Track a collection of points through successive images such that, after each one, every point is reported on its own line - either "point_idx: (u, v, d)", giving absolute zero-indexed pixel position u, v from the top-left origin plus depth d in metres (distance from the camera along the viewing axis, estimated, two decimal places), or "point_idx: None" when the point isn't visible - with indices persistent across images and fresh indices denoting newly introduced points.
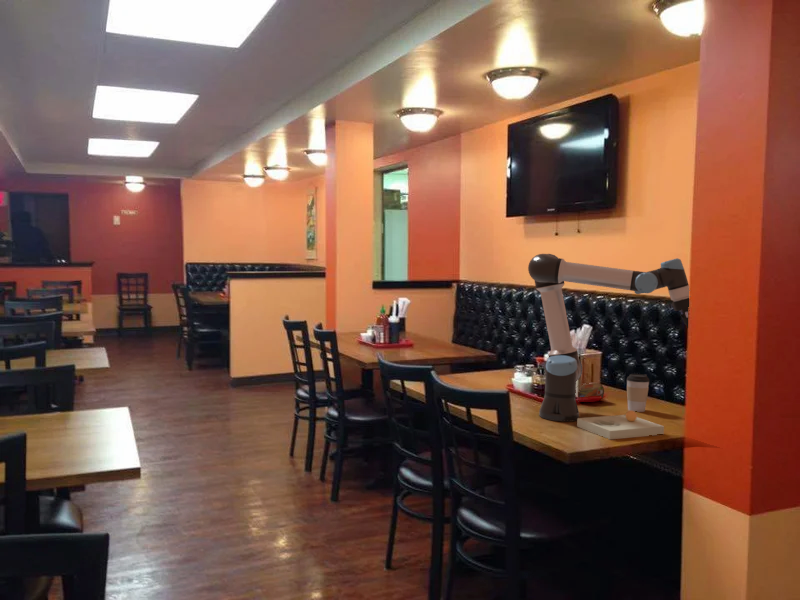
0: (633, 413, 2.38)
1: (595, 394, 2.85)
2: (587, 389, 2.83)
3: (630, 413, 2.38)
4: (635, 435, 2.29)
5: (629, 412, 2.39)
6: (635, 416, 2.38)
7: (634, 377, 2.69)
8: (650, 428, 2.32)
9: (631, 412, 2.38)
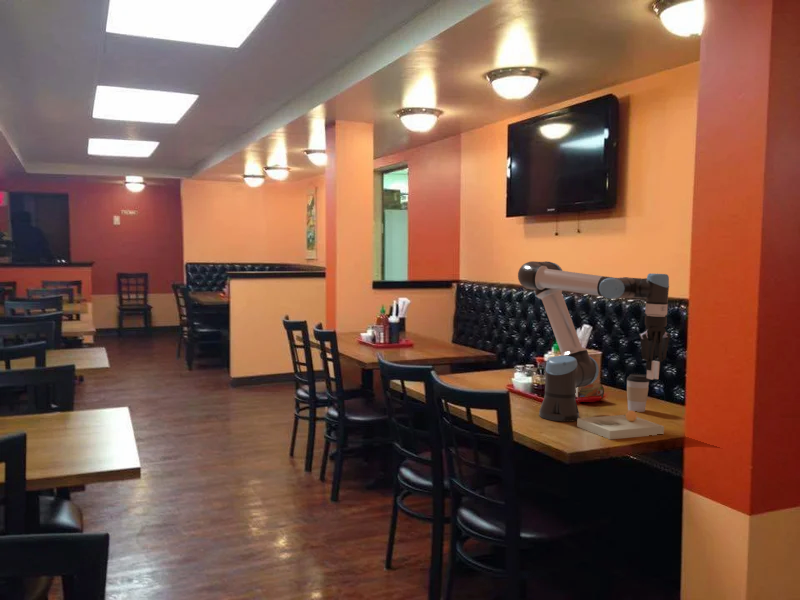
0: (633, 413, 2.38)
1: (595, 394, 2.85)
2: (587, 389, 2.83)
3: (630, 413, 2.38)
4: (635, 435, 2.29)
5: (629, 412, 2.39)
6: (635, 416, 2.38)
7: (634, 377, 2.69)
8: (650, 428, 2.32)
9: (631, 412, 2.38)
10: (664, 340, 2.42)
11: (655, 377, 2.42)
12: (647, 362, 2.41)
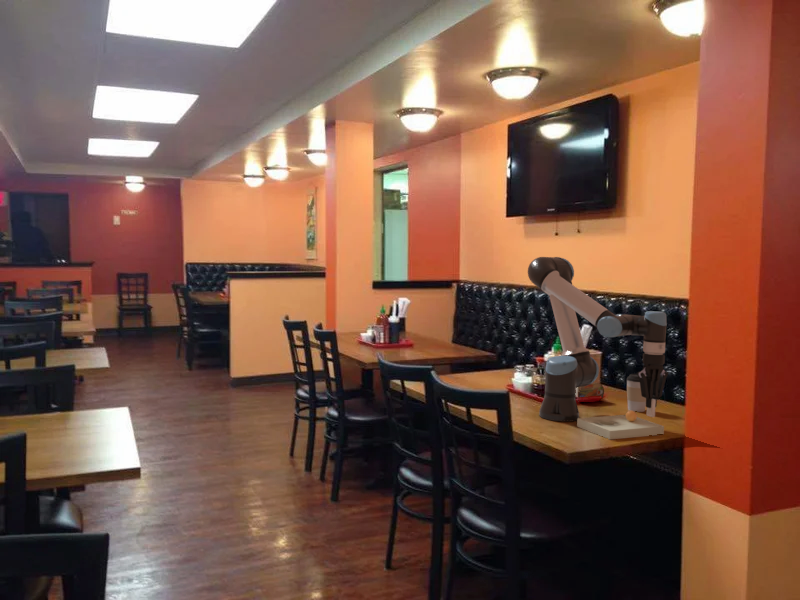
0: (633, 413, 2.38)
1: (595, 394, 2.85)
2: (587, 389, 2.83)
3: (630, 413, 2.38)
4: (635, 435, 2.29)
5: (629, 412, 2.39)
6: (635, 416, 2.38)
7: (634, 377, 2.69)
8: (650, 428, 2.32)
9: (631, 412, 2.38)
10: (661, 378, 2.43)
11: None
12: (647, 400, 2.42)
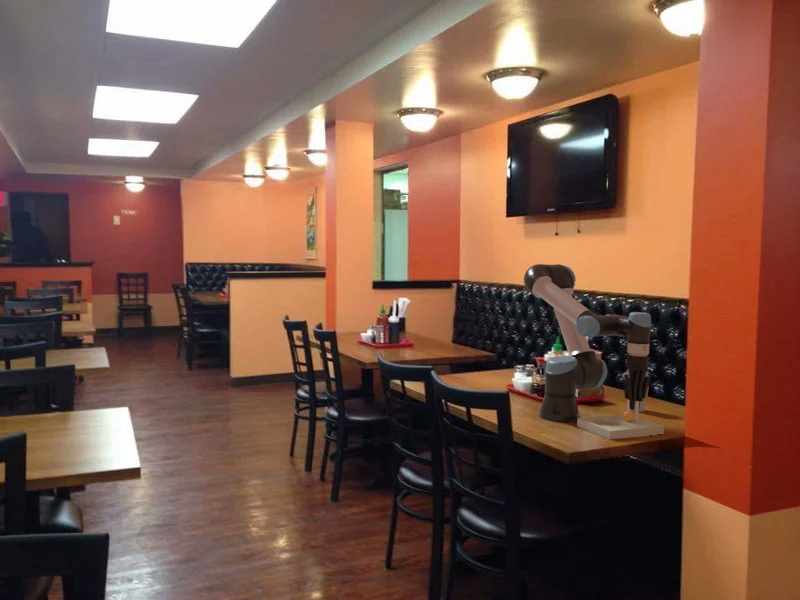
0: (629, 414, 2.37)
1: (595, 394, 2.85)
2: (587, 389, 2.83)
3: (627, 415, 2.38)
4: (635, 435, 2.29)
5: (625, 414, 2.38)
6: (632, 416, 2.37)
7: None
8: (650, 428, 2.32)
9: (627, 414, 2.38)
10: (645, 379, 2.41)
11: (635, 417, 2.40)
12: (630, 401, 2.39)
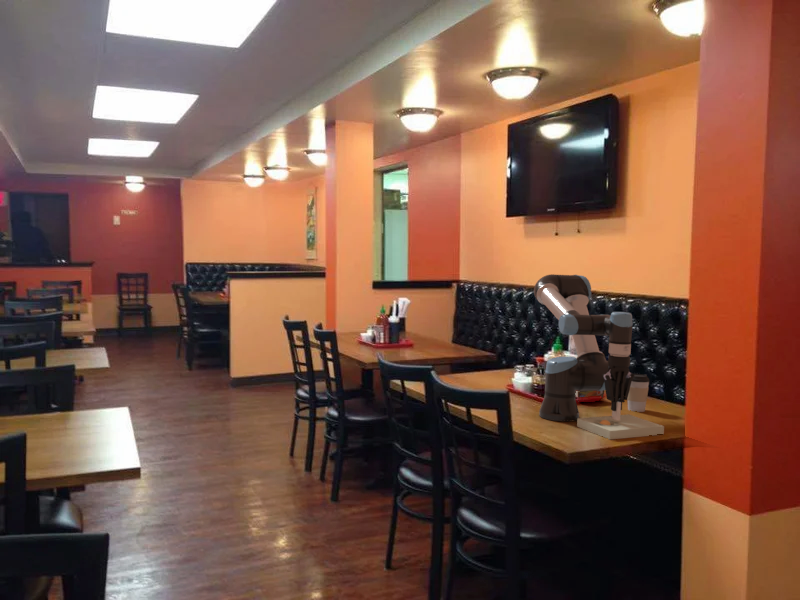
0: (607, 422, 2.34)
1: (595, 394, 2.85)
2: None
3: (604, 421, 2.35)
4: (635, 435, 2.29)
5: (603, 421, 2.35)
6: None
7: (634, 377, 2.69)
8: (650, 428, 2.32)
9: (605, 421, 2.35)
10: (627, 380, 2.37)
11: None
12: (612, 402, 2.36)
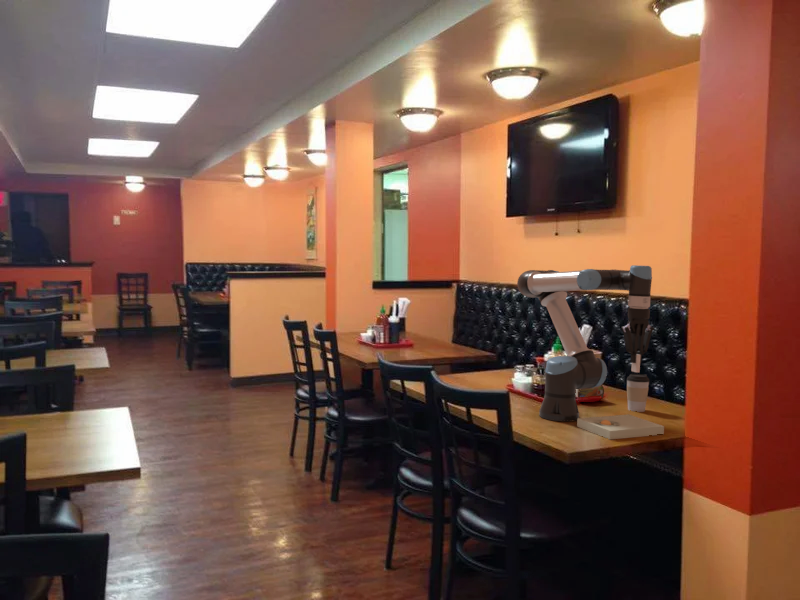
0: (608, 422, 2.34)
1: (595, 394, 2.85)
2: (587, 389, 2.83)
3: (605, 421, 2.35)
4: (635, 435, 2.29)
5: (604, 420, 2.35)
6: None
7: (634, 377, 2.69)
8: (650, 428, 2.32)
9: (606, 421, 2.35)
10: (647, 333, 2.40)
11: None
12: (631, 355, 2.39)
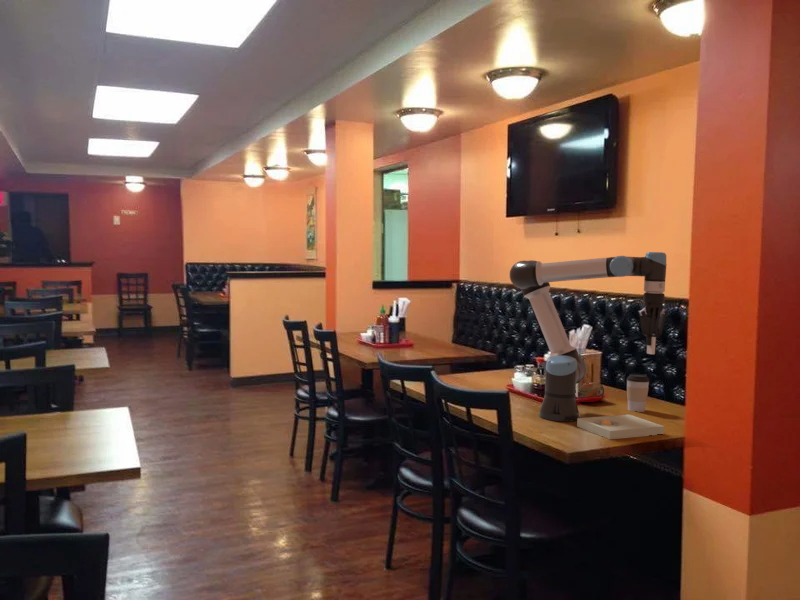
0: (609, 422, 2.34)
1: (595, 394, 2.85)
2: (587, 389, 2.83)
3: (606, 421, 2.35)
4: (635, 435, 2.29)
5: (605, 420, 2.35)
6: None
7: (634, 377, 2.69)
8: (650, 428, 2.32)
9: (607, 421, 2.35)
10: (661, 317, 2.51)
11: None
12: (647, 337, 2.50)
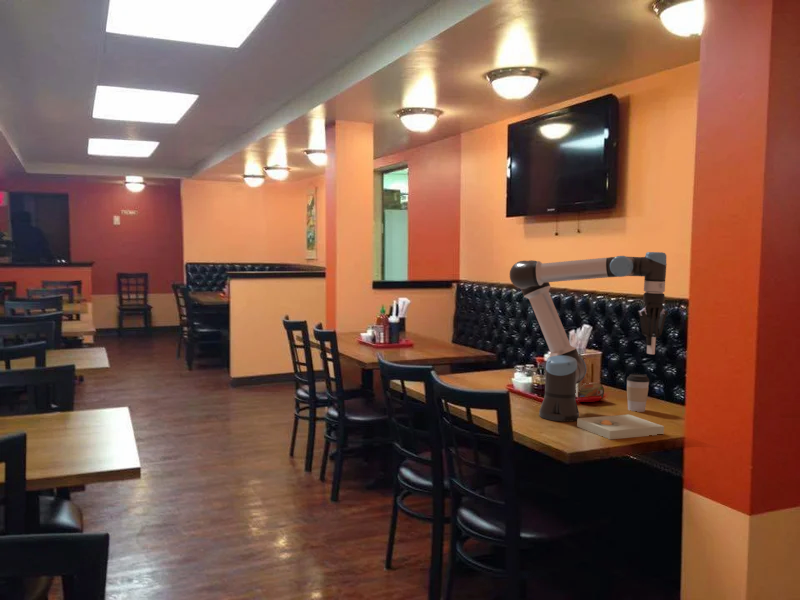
0: (609, 422, 2.35)
1: (595, 394, 2.85)
2: (587, 389, 2.83)
3: (606, 421, 2.35)
4: (635, 435, 2.29)
5: (605, 420, 2.35)
6: None
7: (634, 377, 2.69)
8: (650, 428, 2.32)
9: (607, 421, 2.35)
10: (661, 317, 2.51)
11: None
12: (647, 337, 2.50)
